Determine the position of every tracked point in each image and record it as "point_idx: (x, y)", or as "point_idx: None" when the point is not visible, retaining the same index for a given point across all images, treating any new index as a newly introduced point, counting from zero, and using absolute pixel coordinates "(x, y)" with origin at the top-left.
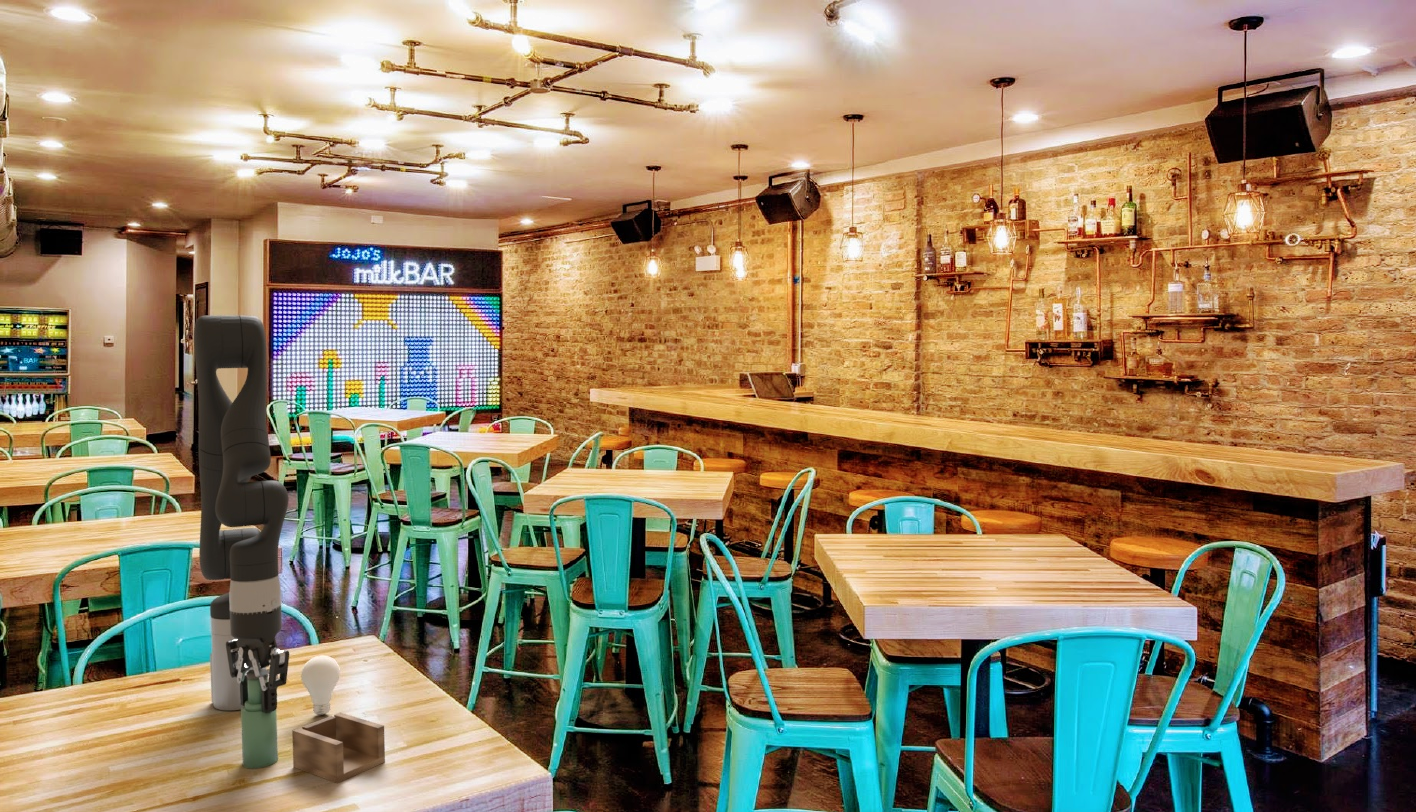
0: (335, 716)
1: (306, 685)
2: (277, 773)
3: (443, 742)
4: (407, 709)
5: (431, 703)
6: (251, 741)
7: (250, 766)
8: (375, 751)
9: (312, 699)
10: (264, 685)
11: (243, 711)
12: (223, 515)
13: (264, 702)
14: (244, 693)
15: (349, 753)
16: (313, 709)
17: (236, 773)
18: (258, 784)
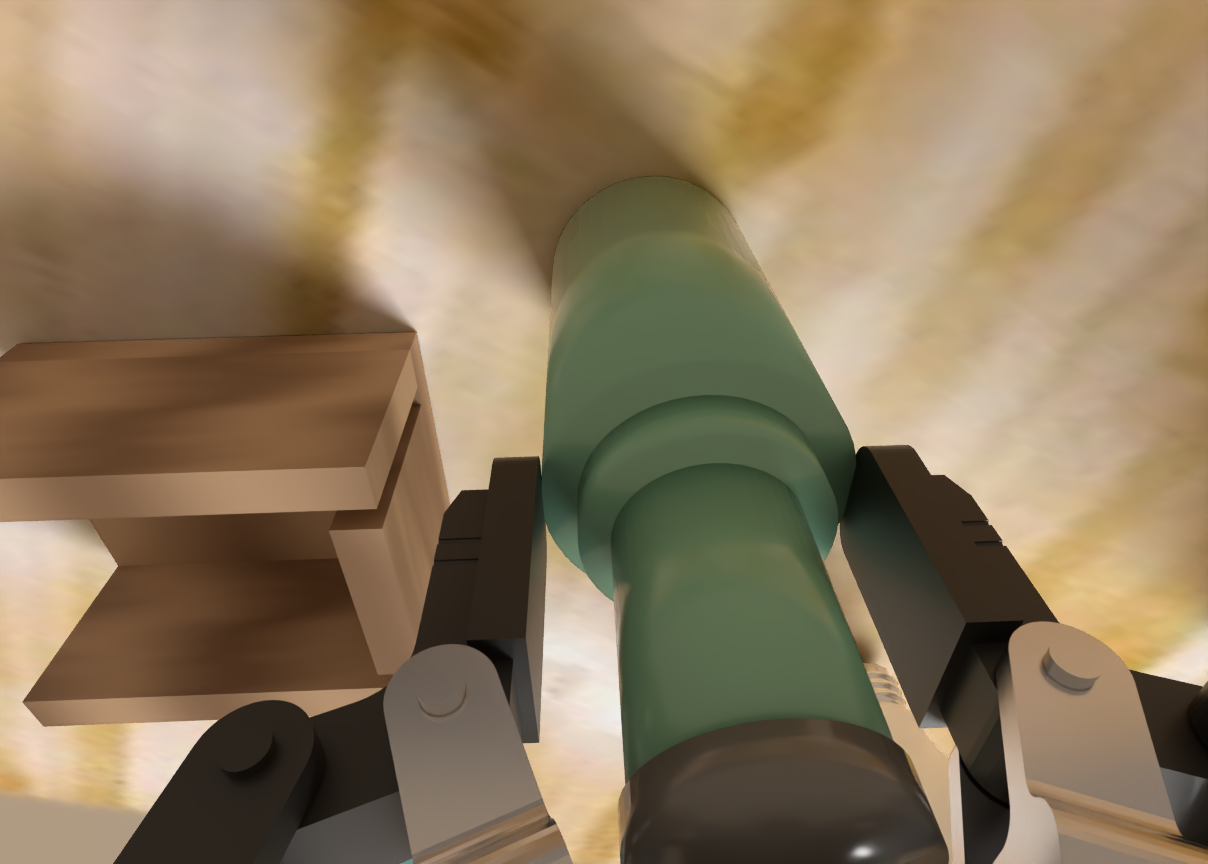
0: None
1: (931, 784)
2: (405, 238)
3: (196, 734)
4: (595, 799)
5: (570, 841)
6: (606, 261)
7: (609, 189)
8: (126, 588)
9: (896, 720)
10: (417, 722)
11: (737, 374)
12: None
13: (486, 533)
14: (908, 546)
15: (283, 534)
16: (889, 678)
17: (620, 88)
18: (327, 70)
